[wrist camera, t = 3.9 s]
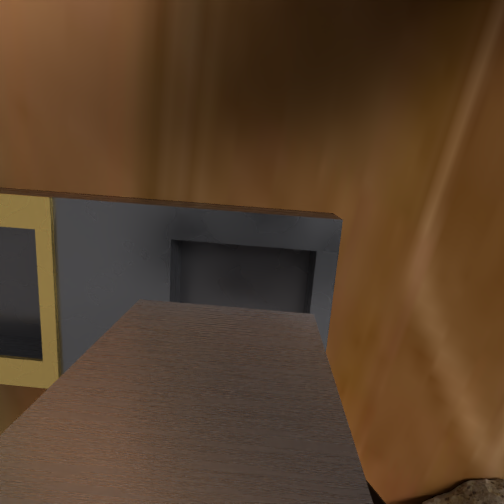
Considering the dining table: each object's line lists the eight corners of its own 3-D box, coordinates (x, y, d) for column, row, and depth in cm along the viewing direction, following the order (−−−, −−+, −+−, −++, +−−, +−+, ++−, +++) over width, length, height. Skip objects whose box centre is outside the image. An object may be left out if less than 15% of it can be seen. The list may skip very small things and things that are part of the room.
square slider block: (313, 313, 10) (403, 600, 3) (296, 462, 11) (337, 909, 4) (139, 298, 10) (-113, 545, 4) (139, 447, 11) (-55, 856, 5)
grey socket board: (332, 213, 17) (343, 220, 15) (312, 382, 19) (318, 414, 17) (-74, 181, 18) (-132, 183, 15) (-54, 348, 20) (-101, 374, 17)
